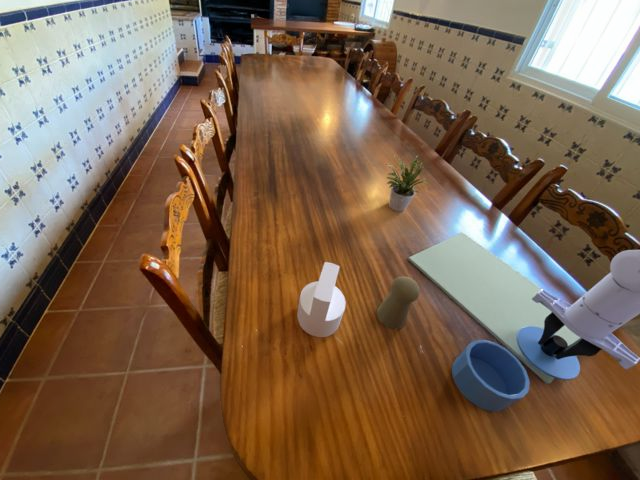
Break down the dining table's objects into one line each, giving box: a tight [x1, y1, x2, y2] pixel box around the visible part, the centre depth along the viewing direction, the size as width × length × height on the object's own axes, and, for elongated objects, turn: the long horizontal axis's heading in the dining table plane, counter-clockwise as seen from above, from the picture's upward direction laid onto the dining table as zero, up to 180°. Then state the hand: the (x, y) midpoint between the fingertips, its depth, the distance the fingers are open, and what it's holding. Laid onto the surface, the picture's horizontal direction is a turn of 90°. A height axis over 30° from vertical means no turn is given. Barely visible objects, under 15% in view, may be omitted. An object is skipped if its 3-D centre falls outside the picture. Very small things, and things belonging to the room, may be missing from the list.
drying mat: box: [407, 231, 581, 385], centre depth 70 cm, size 34×22×1 cm, turn 30°
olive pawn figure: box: [376, 275, 420, 330], centre depth 60 cm, size 6×6×11 cm
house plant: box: [385, 153, 431, 212], centre depth 90 cm, size 14×14×16 cm
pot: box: [451, 339, 531, 413], centre depth 52 cm, size 10×10×6 cm
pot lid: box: [516, 326, 581, 381], centre depth 56 cm, size 10×10×5 cm
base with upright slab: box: [296, 261, 347, 338], centre depth 58 cm, size 9×9×12 cm
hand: (550, 348), depth 56 cm, fingers closed on pot lid, 2 cm apart
